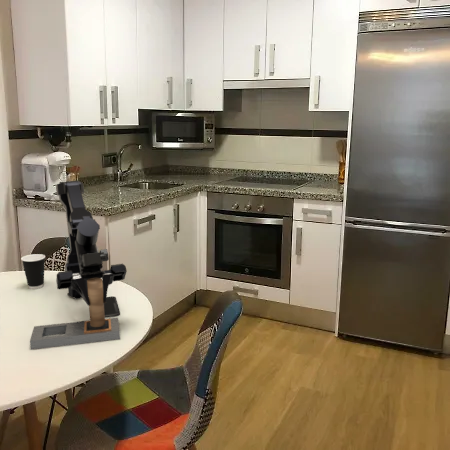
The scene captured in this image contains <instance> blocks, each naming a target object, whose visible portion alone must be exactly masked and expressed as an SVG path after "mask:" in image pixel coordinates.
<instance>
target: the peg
mask: <svg viewBox="0 0 450 450" xmlns="http://www.w3.org/2000/svg"><path fill="white" fill-rule="evenodd" d="M102 280H103V279H102V278H90V279H88V280H87V287H88V297H89V302H90V305H89V306H88V309H89V321H90V325H91V326H92V327H101V326H103V325H105V319H106V318H105V313H104V298H103V283H102Z"/></svg>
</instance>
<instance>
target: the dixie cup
mask: <svg viewBox="0 0 450 450" xmlns="http://www.w3.org/2000/svg"><path fill="white" fill-rule="evenodd" d="M45 259H46V255H45V254H42V253H41V254H40V253H39V254H38V253H37V254H35V253H34V254H33V253H32V254H27V255H23V256H21V258H20V260H21V261H22V265H23V266H22V267H23V270H24V275H25V278H26V283H27V286H28V289H30V290H37V289H41V288H43V287H44V284H45Z"/></svg>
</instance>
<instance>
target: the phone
mask: <svg viewBox="0 0 450 450" xmlns="http://www.w3.org/2000/svg"><path fill="white" fill-rule="evenodd" d="M104 313H105V319H108V318H116V317H119V316H121V312H120V306H119V304H118V299H117V297H116V296H107V297H106V303H104Z"/></svg>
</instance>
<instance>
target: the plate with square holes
mask: <svg viewBox="0 0 450 450" xmlns="http://www.w3.org/2000/svg"><path fill="white" fill-rule="evenodd" d="M120 333H121V332H120V321H119V317H107V318H105V325H103V326H101V327H92V326H91V325H90V320H82V321H73V322H64V323H63V322H62V323H54V324H53V323H52V324H44V325H35V326H33V329H32V332H31V336H30V339H29V344H30V345H29V346H30V350H37V349H38V350H39V349H46V348H55V347H56V348H57V347H64V346H72V345H83V344H90V343H98V342H107V341H116V340H120V339H121V334H120Z"/></svg>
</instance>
